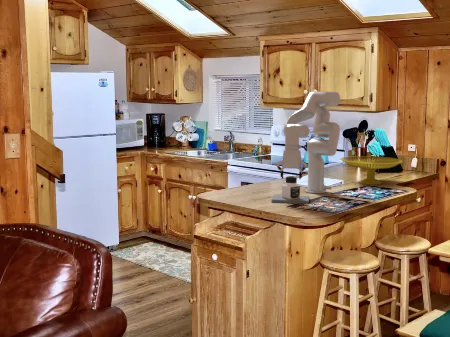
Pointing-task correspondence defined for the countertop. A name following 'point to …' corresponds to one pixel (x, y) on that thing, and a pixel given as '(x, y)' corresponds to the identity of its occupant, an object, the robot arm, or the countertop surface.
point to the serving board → (283, 200)
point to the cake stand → (371, 166)
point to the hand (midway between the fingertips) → (291, 178)
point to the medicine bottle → (291, 188)
